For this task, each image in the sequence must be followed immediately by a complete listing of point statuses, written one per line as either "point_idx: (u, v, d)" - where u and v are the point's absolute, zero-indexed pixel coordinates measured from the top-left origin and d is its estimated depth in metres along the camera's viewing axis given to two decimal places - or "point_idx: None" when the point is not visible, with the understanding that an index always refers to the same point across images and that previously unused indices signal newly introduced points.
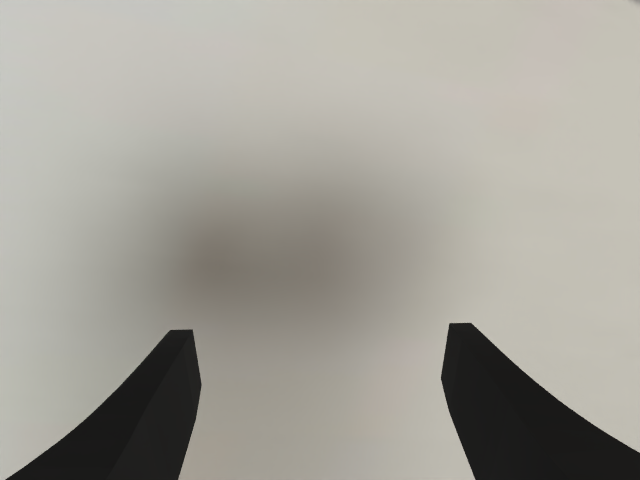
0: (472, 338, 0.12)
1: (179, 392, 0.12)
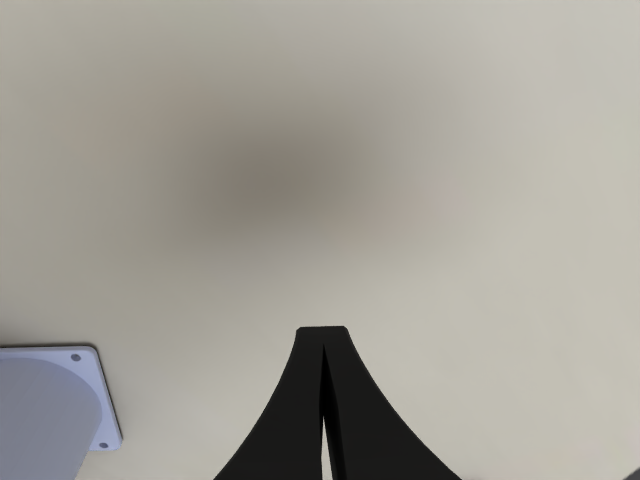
0: (334, 341, 0.12)
1: (322, 388, 0.12)
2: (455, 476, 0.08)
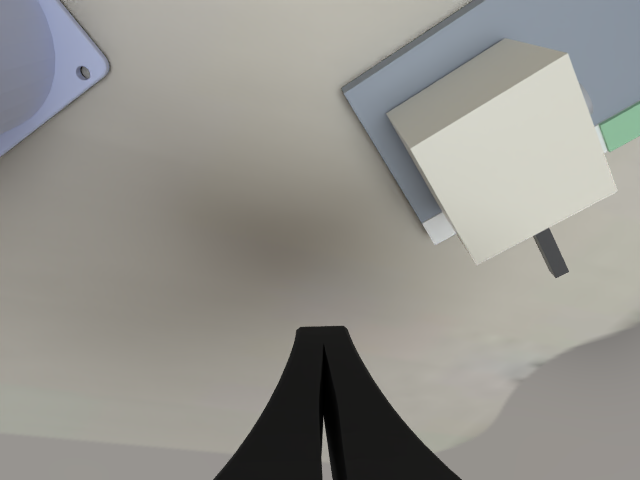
0: (335, 341, 0.12)
1: (322, 388, 0.12)
2: (455, 476, 0.08)
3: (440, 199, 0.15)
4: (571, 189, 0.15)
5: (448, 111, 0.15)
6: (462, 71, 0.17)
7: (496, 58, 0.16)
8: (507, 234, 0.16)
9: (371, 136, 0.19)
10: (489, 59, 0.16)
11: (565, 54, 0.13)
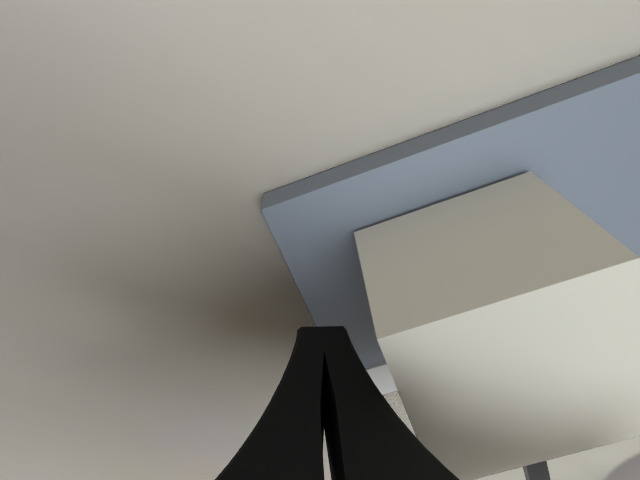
0: (333, 341, 0.12)
1: (323, 388, 0.12)
2: (453, 476, 0.08)
3: (406, 407, 0.10)
4: (589, 422, 0.11)
5: (442, 283, 0.10)
6: (467, 206, 0.12)
7: (519, 206, 0.11)
8: (487, 460, 0.11)
9: (290, 267, 0.14)
10: (508, 203, 0.12)
11: (635, 258, 0.09)
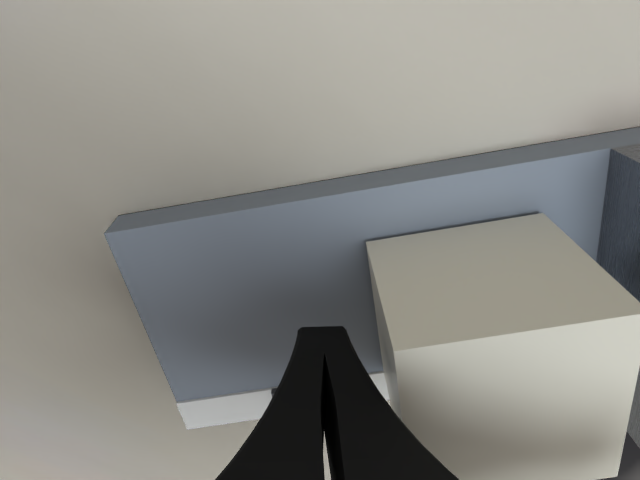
0: (333, 342, 0.12)
1: (323, 388, 0.12)
2: (453, 476, 0.08)
3: (403, 421, 0.10)
4: (567, 458, 0.11)
5: (459, 306, 0.10)
6: (481, 235, 0.13)
7: (533, 244, 0.12)
8: None
9: (131, 292, 0.14)
10: (522, 240, 0.12)
11: None
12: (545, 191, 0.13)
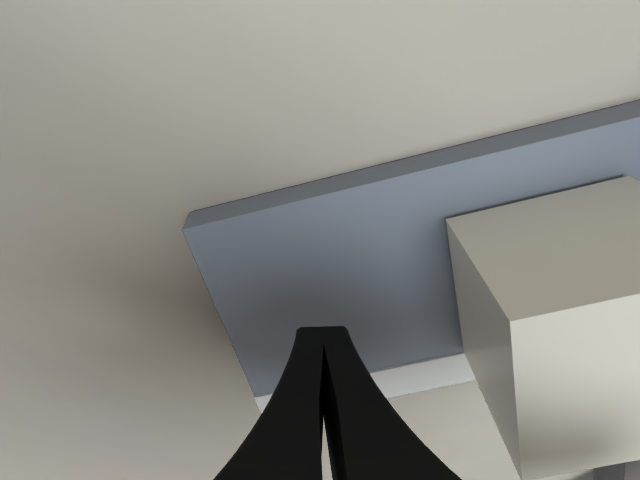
0: (335, 341, 0.12)
1: (322, 388, 0.12)
2: (455, 476, 0.08)
3: (516, 395, 0.10)
4: None
5: (567, 273, 0.10)
6: (569, 203, 0.12)
7: (629, 206, 0.11)
8: (579, 456, 0.11)
9: (209, 288, 0.14)
10: (614, 203, 0.12)
11: None
12: (629, 153, 0.13)
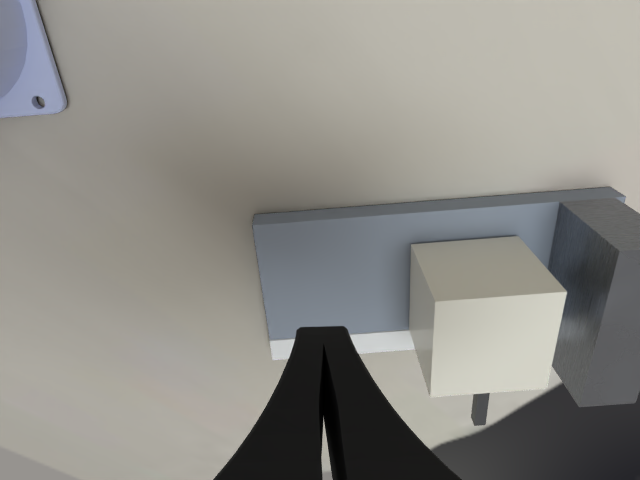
0: (334, 341, 0.12)
1: (322, 388, 0.12)
2: (455, 476, 0.08)
3: (433, 343, 0.19)
4: (519, 374, 0.20)
5: (469, 283, 0.19)
6: (481, 246, 0.21)
7: (511, 253, 0.21)
8: (462, 385, 0.20)
9: (259, 263, 0.22)
10: (504, 250, 0.21)
11: (565, 291, 0.18)
12: (520, 223, 0.22)
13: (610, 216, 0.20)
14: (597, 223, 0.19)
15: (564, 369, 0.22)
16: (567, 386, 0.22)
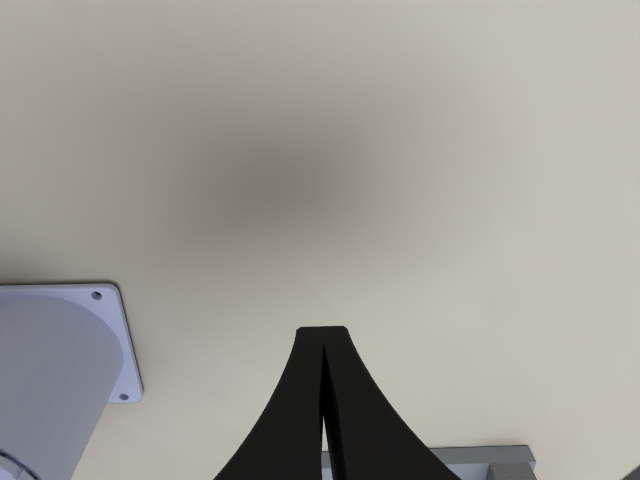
0: (335, 341, 0.12)
1: (321, 388, 0.12)
2: (455, 476, 0.08)
3: None
4: None
5: None
6: None
7: None
8: None
9: None
10: None
11: None
12: (461, 473, 0.30)
13: None
14: None
15: None
16: None
